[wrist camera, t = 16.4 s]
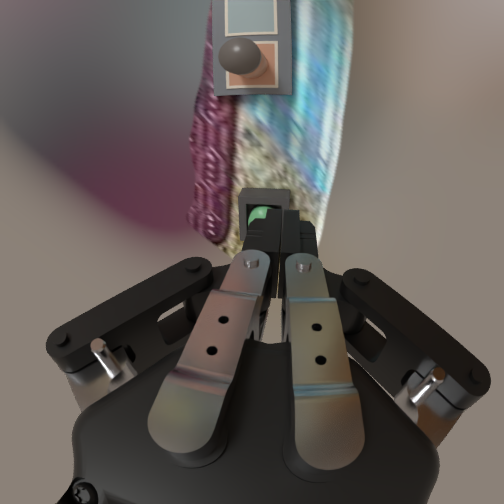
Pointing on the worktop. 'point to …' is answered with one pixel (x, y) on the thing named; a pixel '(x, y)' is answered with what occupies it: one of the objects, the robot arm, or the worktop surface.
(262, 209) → the button
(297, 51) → the worktop surface
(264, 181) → the worktop surface
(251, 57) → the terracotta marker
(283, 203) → the button housing
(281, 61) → the picture board
